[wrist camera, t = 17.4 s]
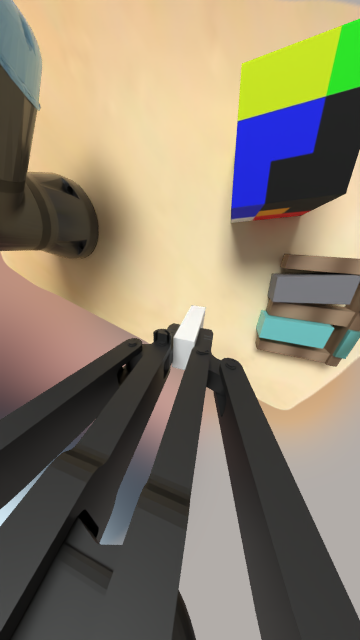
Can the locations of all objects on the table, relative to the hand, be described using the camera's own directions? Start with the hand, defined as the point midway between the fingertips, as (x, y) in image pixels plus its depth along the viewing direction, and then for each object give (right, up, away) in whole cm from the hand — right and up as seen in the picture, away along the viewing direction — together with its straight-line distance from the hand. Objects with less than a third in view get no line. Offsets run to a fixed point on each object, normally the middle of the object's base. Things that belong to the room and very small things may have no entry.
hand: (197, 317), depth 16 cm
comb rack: (+21, +2, +11) cm, 24 cm away
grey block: (+19, +6, +10) cm, 22 cm away
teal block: (+19, -1, +13) cm, 23 cm away
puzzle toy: (+11, +20, +6) cm, 24 cm away
